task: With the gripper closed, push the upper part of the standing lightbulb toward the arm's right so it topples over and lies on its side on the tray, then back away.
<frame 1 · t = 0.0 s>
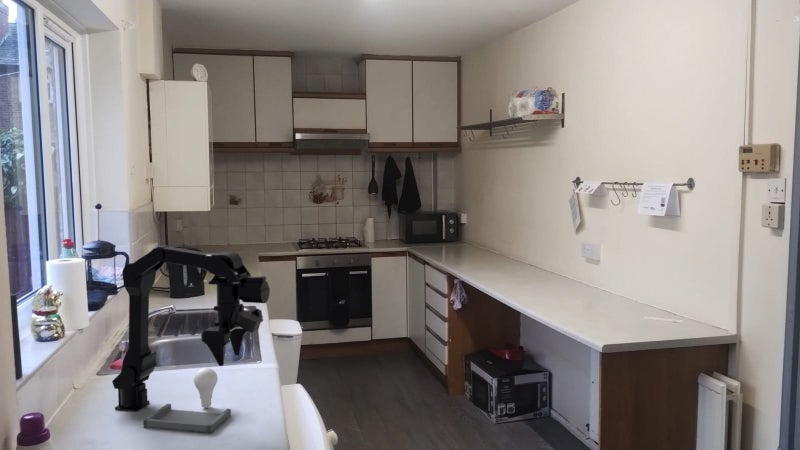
hand: (229, 360, 162), 15 cm above the worktop, fingers open, 9 cm apart
tray: (188, 421, 159), on the worktop
lightbulb: (206, 408, 168), on the worktop
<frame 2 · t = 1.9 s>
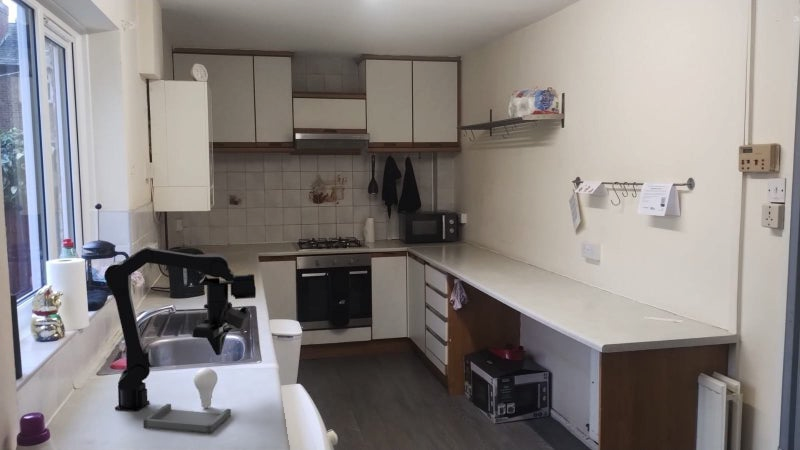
hand: (218, 354, 174), 12 cm above the worktop, fingers closed
nothing on the worktop moved.
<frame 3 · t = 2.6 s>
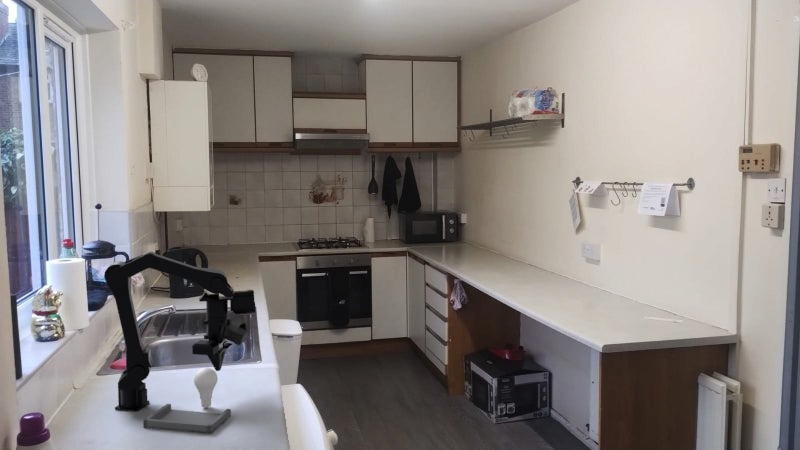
hand: (218, 370, 174), 8 cm above the worktop, fingers closed
nothing on the worktop moved.
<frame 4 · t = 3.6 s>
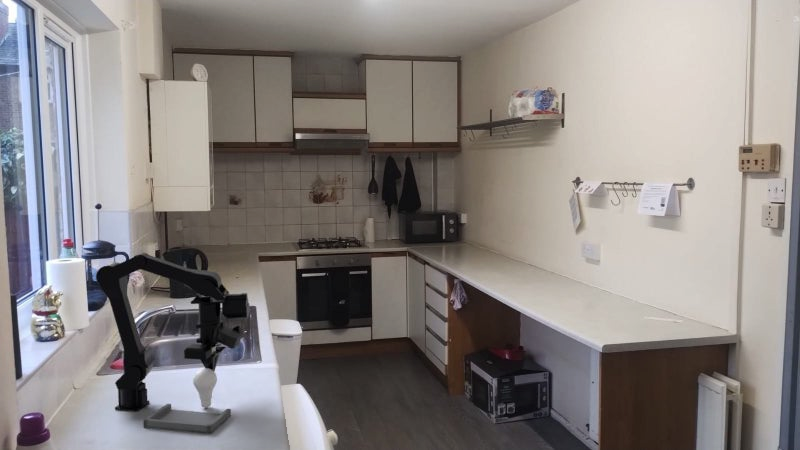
hand: (211, 374, 170), 8 cm above the worktop, fingers closed
lightbulb: (206, 408, 168), on the worktop, touching gripper
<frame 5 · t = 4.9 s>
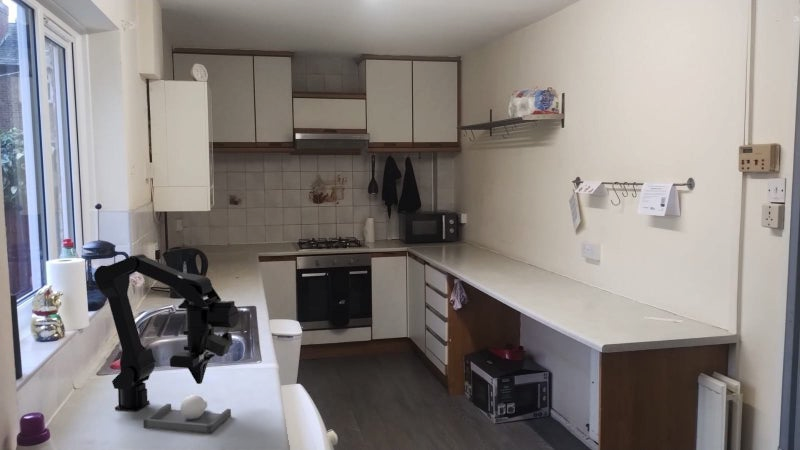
hand: (199, 383, 164), 8 cm above the worktop, fingers closed
lightbulb: (204, 404, 167), point 1 cm above the worktop, touching tray
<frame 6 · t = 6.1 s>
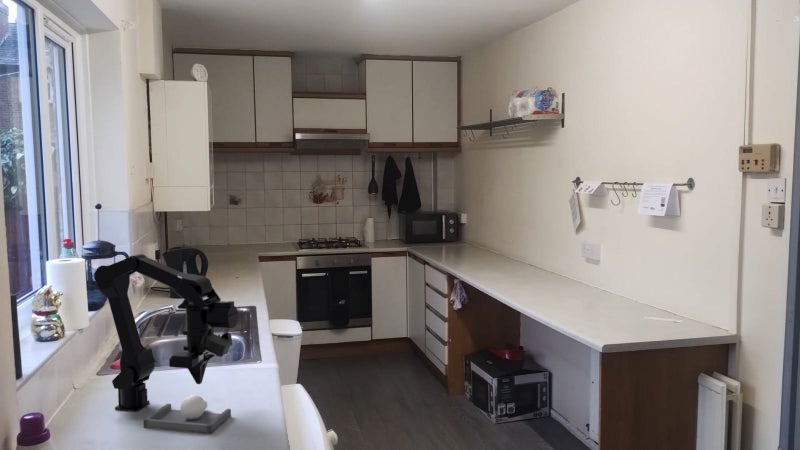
hand: (199, 383, 164), 8 cm above the worktop, fingers closed
nothing on the worktop moved.
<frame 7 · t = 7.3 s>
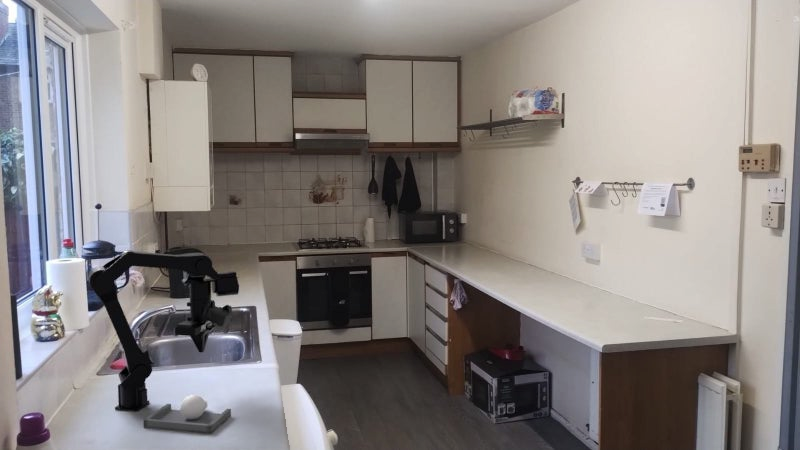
hand: (201, 352, 177), 12 cm above the worktop, fingers closed
nothing on the worktop moved.
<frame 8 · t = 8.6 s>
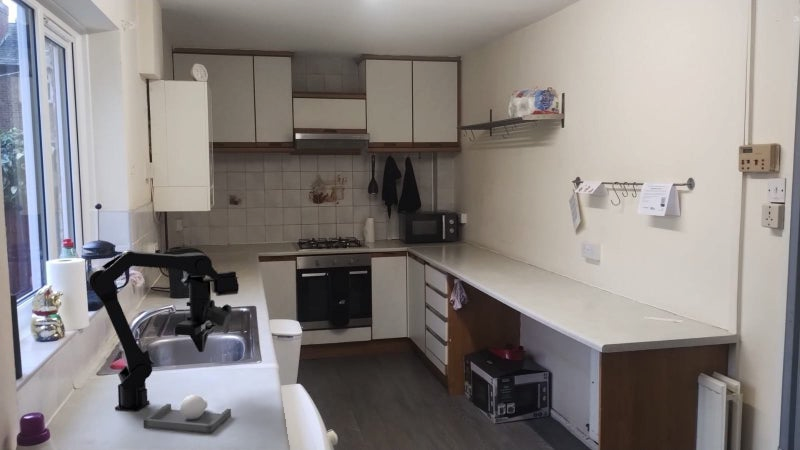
hand: (201, 351, 177), 12 cm above the worktop, fingers closed
nothing on the worktop moved.
at the end: lightbulb tilted 73°; lightbulb inside the target area (5.9 cm from its centre), point 1.1 cm above the worktop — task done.
